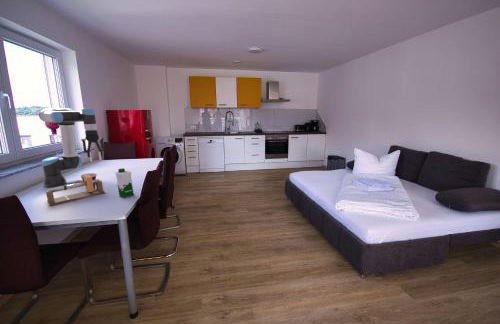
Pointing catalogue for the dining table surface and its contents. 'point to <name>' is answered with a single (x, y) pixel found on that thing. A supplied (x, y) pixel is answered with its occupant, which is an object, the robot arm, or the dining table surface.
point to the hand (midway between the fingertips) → (96, 160)
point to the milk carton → (124, 183)
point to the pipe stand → (74, 195)
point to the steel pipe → (72, 186)
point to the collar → (88, 183)
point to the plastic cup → (91, 176)
